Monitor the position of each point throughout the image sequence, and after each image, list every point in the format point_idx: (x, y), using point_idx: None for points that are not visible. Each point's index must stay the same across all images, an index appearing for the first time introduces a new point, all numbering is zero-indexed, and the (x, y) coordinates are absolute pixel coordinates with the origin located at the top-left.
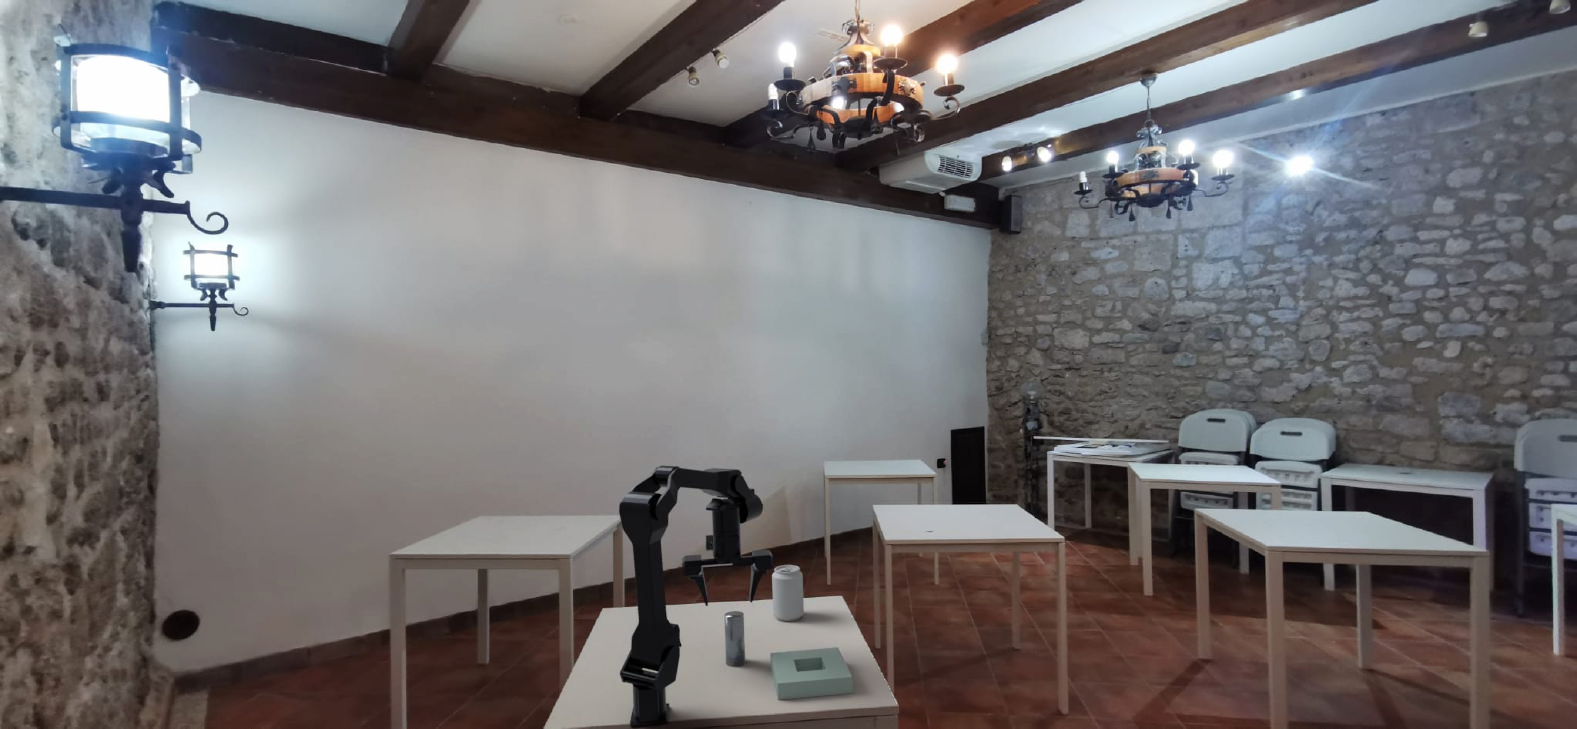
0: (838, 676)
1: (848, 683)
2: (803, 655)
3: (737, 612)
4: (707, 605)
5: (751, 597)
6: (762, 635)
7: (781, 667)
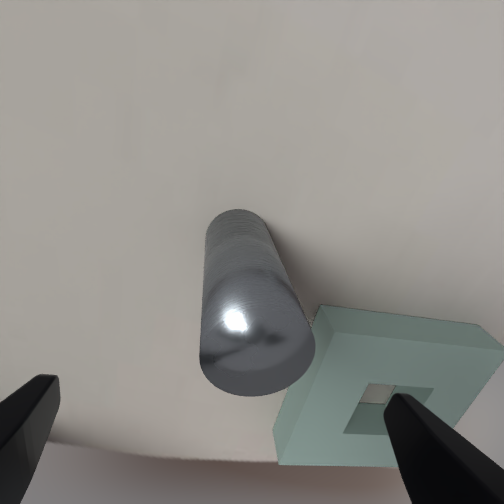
0: None
1: None
2: (404, 369)
3: (288, 332)
4: (55, 409)
5: (404, 465)
6: (423, 16)
7: (320, 410)
